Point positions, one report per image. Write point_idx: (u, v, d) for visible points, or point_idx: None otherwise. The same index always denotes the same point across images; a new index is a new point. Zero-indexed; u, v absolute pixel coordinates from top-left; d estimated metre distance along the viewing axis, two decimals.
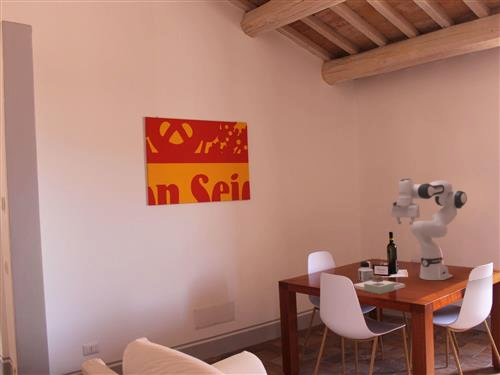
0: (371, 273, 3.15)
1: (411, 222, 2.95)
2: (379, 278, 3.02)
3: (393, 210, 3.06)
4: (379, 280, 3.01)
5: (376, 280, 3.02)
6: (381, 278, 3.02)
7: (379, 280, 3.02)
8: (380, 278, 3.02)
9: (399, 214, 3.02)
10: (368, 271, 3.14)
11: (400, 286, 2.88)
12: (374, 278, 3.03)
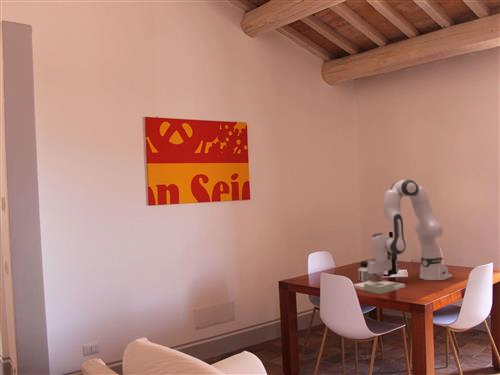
0: None
1: None
2: (378, 278, 3.01)
3: None
4: (378, 280, 3.01)
5: (375, 280, 3.01)
6: (380, 278, 3.02)
7: (378, 280, 3.01)
8: (379, 278, 3.01)
9: None
10: None
11: (400, 286, 2.88)
12: (373, 278, 3.02)
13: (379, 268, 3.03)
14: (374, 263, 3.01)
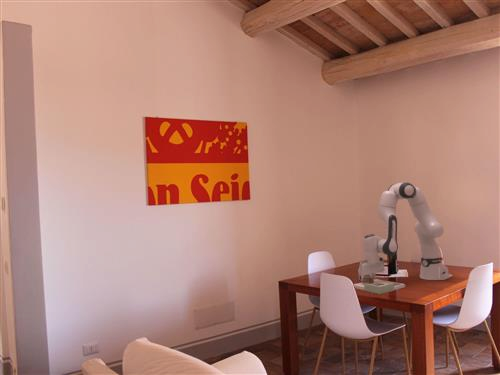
0: None
1: None
2: (370, 280, 2.97)
3: None
4: (370, 282, 2.97)
5: (367, 282, 2.97)
6: (372, 280, 2.98)
7: (370, 282, 2.97)
8: (371, 280, 2.97)
9: None
10: None
11: (400, 286, 2.88)
12: (365, 280, 2.98)
13: (371, 270, 2.99)
14: (366, 265, 2.97)
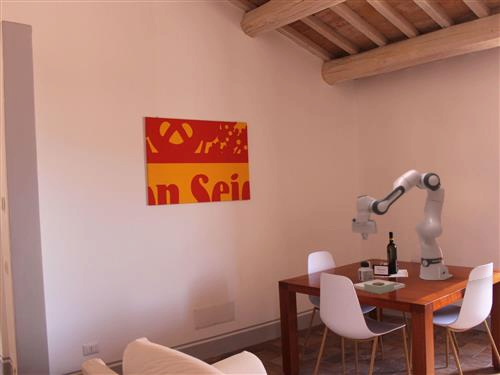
0: (371, 273, 3.15)
1: (365, 237, 3.09)
2: (380, 285, 2.82)
3: (353, 226, 3.16)
4: None
5: None
6: None
7: None
8: (381, 285, 2.82)
9: (358, 230, 3.12)
10: (368, 271, 3.14)
11: (400, 286, 2.88)
12: None
13: None
14: None
